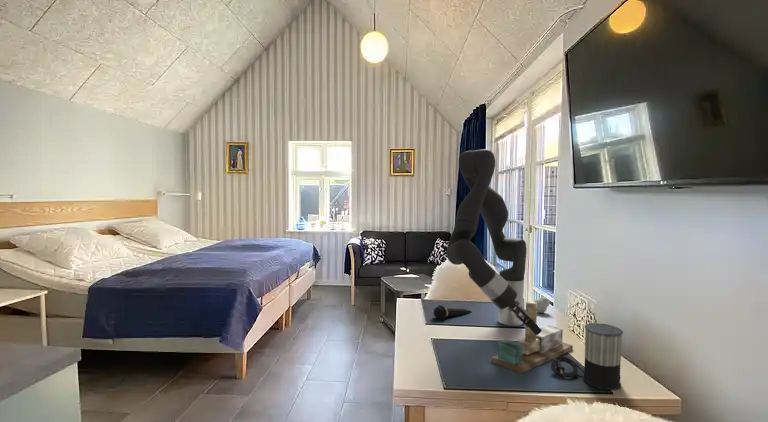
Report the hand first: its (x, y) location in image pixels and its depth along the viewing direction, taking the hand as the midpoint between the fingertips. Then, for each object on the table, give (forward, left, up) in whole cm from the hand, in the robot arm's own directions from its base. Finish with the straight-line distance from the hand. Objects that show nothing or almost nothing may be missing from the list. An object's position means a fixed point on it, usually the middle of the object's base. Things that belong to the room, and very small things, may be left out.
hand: (537, 330), depth 127 cm
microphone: (-11, -44, -9) cm, 46 cm away
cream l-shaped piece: (-3, -1, -6) cm, 7 cm away
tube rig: (-1, -1, -8) cm, 9 cm away
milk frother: (+2, +16, -9) cm, 18 cm away
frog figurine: (-45, -25, -9) cm, 52 cm away
